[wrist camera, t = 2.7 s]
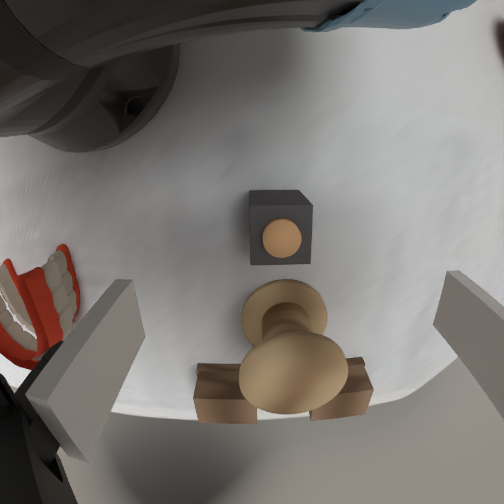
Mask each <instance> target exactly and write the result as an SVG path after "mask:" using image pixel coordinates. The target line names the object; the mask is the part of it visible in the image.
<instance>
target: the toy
mask: <svg viewBox="0 0 504 504" xmlns="http://www.w3.org/2000/svg"><path fill="white" fill-rule="evenodd" d="M0 291H1V294H2V296H3V297H4V299H5V301H6V302H8V306H9V308H10V310H11V311H12V313H13V314H15V315H16V316H17V319H18V320H19V321H20V322H21V323H22V324H25V325H26V327H27V328H28V329H29V330H31V331H32V332H33V333H36V336H37V339H35V337H34V336H32V335H31V334H30V333H28V332H27V331H23V329H22V327H21V326H20V325H19V324H18V323H17V322H14V321H13V317H12V315H11V313H10V312H9V310H6V305H5V303H4V301H3V299H2V297H1V295H0V353H1V354H2V355H3V356H4V357H6V358H7V359H8V360H9V361H11V362H12V363H14V364H15V365H17V366H19V367H22V368H25V369H29V370H32V369H33V368H35V365H36V364H37V363H38V362H39V360H41V358H42V356H43V355H44V354H45V353H46V351H47V350H48V349H49V348H50V347H52V346H53V345H55V344H56V343H57V342H59V341H65V340H66V338H67V337H68V336H69V335H70V334H69V333H70V332H71V331H72V328H73V321H74V319H75V317H76V313H77V312H78V309H79V287H78V282H77V279H76V275H75V271H74V267H73V264H72V261H71V257H70V253H69V250H68V248H67V246H66V245H65V244H61V245H59V246H58V247H57V250H56V252H55V253H54V254H53V255H51V256H50V257H49V258H48V262H47V263H46V264H45V265H43V266H42V267H37V268H35V269H33V270H31V271H29V272H27V273H24V274H21V275H18V276H17V274H16V272H15V269H14V267H13V264H12V262H11V260H10V259H6V260H5V261H4V262H3V265H2V266H1V267H0Z"/></svg>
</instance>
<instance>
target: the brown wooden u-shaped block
mask: <svg viewBox="0 0 504 504" xmlns="http://www.w3.org/2000/svg"><path fill="white" fill-rule="evenodd" d="M346 361H347V365H348V377H347V380H346V382H345V384H344V386H343V388H342V389H341V391H340V392H339V393H338V394H337V395H336V396H335V397H334V398H333V399H332V400H330V401H329V402H327V403H326V404H324V405H322V406H320V407H318V408H316V409H313V410H311V411H309V414H310V420H311V421H314V420H323V419H333V418H341V417H348V416H355V415H362V414H365V413H366V410H367V407H368V405H369V402H370V399H371V396H372V393H373V390H374V389H373V386H372V384H371V382H370V379H369V377H368V375H367V372H366V370H365V368H364V366H365V362H364V360H363V358H362V357H358V358H349V359H346ZM240 366H241V364H198V366H197V370H196V371H197V382H196V387H195V392H194V397H193V400H194V404H195V408H196V413H197V417H198V421H199V422H202V423H203V422H204V423H228V424H257V407H255V406H254V405H252V404H251V403H250V402H249V401H247V399H246V398H245V397H244V396H243V394H242V392H241V390H240V386H239V370H240Z"/></svg>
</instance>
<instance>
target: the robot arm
mask: <svg viewBox="0 0 504 504" xmlns="http://www.w3.org/2000/svg"><path fill="white" fill-rule="evenodd" d="M475 1H476V0H0V137H8V136H17V135H26V134H27V135H29V136H31V137H33V138H35V139H37V140H39V141H41V142H43V143H45V144H48V145H50V146H52V147H54V148H56V149H59V150H63V151H68V152H88V151H96V150H102V149H106V148H109V147H112V146H115V145H117V144H119V143H121V142H123V141H125V140H127V139H128V138H130V137H131V136H133V135H134V134H135V133H137V132H138V131H139V130H140V129H142V128H143V127H144V126H145V125H146V124H147V123H148V122H149V121H150V120H151V119H152V118H153V116H154V115H155V114H156V113H157V111H158V110H159V109H160V107H161V106H162V104H163V103H164V101H165V99H166V98H167V96H168V94H169V92H170V90H171V87H172V85H173V82H174V79H175V76H176V73H177V68H178V62H179V43H181V42H186V41H191V40H195V39H201V38H206V37H211V36H217V35H223V34H230V33H237V32H245V31H254V30H265V29H278V28H298V27H300V28H301V29H302V30H303V31H308V32H327V31H331V30H335V29H338V28H341V27H369V28H389V29H411V28H420V27H424V26H428V25H432V24H435V23H438V22H441V21H442V20H443V19H445V18H446V17H447V16H448V15H449V14H450V13H451V12H452V11H455V10H460V9H463V8H467V7H468V6H470V5H471V4H473V3H474V2H475ZM433 325H434V327H435V328H436V329H437V330H438V331H439V333H440V334H441V335H442V336H443V338H444V339H445V340H446V341H447V343H448V344H449V345H450V346H451V348H452V349H453V350H454V351H455V353H456V354H457V355H458V357H459V358H460V359H461V360H462V362H463V363H464V364H465V366H466V367H467V368H468V370H469V371H470V372H471V374H472V375H473V376H474V378H475V379H476V381H477V382H478V383H479V385H480V386H481V387H482V389H483V390H484V391H485V393H486V394H487V396H488V397H489V399H490V400H491V401H492V403H493V404H494V406H495V407H496V409H497V411H498V412H499V413H500V415H501V416H502V418H503V419H504V306H502V305H501V304H500V303H499V302H498V301H497V300H495V299H494V298H493V297H492V296H491V295H489V294H488V293H487V292H486V291H485V290H483V289H482V288H481V287H480V286H478V285H477V284H476V283H475V282H473V281H472V280H471V279H470V278H468V277H467V276H466V275H464V274H463V273H462V272H461V271H459V270H457V271H447V273H446V277H445V281H444V286H443V290H442V294H441V297H440V301H439V305H438V309H437V312H436V316H435V319H434V322H433ZM144 338H145V334H144V330H143V325H142V321H141V317H140V312H139V308H138V303H137V298H136V294H135V289H134V283H133V280H123V279H116V280H115V281H114V282H113V283H112V284H111V286H110V287H109V288H108V289H107V290H106V291H105V293H104V294H103V295H102V296H101V297H100V298H99V299H98V301H97V302H96V303H95V304H94V305H93V307H92V308H91V309H90V310H89V311H88V313H87V314H86V315H85V316H84V317H83V319H82V320H81V321H80V322H79V324H78V325H77V326H76V327H75V328H74V330H73V331H72V332H71V333H70V335H69V336H68V337H67V338H66V340H65V341H59V342H57V343H56V344H55V345H53V346H52V347H50V348H49V349H48V350H47V351H46V353H45V354H44V355H43V356H42V358H41V360H39V362H38V363H37V364H36V365H35V368H33V369H32V371H31V372H30V373H29V375H28V376H27V377H26V379H25V380H24V381H23V383H22V384H21V385H20V387H19V388H18V390H17V391H16V392H15V394H14V392H13V391H12V389H11V387H10V386H9V384H8V382H7V380H6V379H5V377H4V376H3V375H2V374H0V504H78V503H77V501H76V499H75V496H74V494H73V491H72V489H71V486H70V484H69V481H68V479H67V476H66V473H65V471H64V468H63V465H62V462H61V460H60V458H59V456H58V454H57V451H58V449H59V447H60V446H61V447H62V449H63V450H64V451H65V452H66V454H67V455H68V456H70V457H73V458H76V459H79V460H82V461H86V462H90V459H91V457H92V454H93V452H94V449H95V447H96V444H97V442H98V440H99V437H100V435H101V432H102V430H103V428H104V425H105V423H106V421H107V418H108V416H109V414H110V412H111V409H112V407H113V405H114V402H115V400H116V398H117V396H118V394H119V391H120V389H121V387H122V385H123V383H124V380H125V378H126V376H127V374H128V372H129V370H130V367H131V365H132V363H133V361H134V359H135V357H136V355H137V353H138V351H139V349H140V347H141V344H142V342H143V340H144Z"/></svg>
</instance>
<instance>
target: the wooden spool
mask: <svg viewBox="0 0 504 504" xmlns="http://www.w3.org/2000/svg"><path fill="white" fill-rule="evenodd" d="M326 323H327V311H326V307H325V305H324V302H323V300H322V298H321V296H320V295H319V293H318V292H317V291H316V290H315V289H314V288H312V287H311V286H309V285H308V284H306V283H303V282H300V281H297V280H288V279H285V280H277V281H273V282H270V283H267V284H265V285H263V286H261V287H260V288H258V289H257V290H256V291H254V292H253V293H252V294H251V295H250V297H249V298H248V299H247V301H246V303H245V305H244V308H243V313H242V328H243V331H244V334H245V336H246V338H247V339H248V341H249V342H250V343H251V344H252V345H253V346H254V347H253V348H252V349H251V350H250V351H249V352H248V353H247V354H246V356H245V357H244V359H243V361H242V363H241V366H240V370H239V386H240V390H241V392H242V394H243V396H244V397H245V398H246V399H247V401H249V402H250V403H251V404H252V405H254V406H255V407H257V408H259V409H261V410H264V411H267V412H271V413H276V414H298V413H303V412H307V411H311V410H313V409H316V408H318V407H320V406H322V405H324V404H326V403H327V402H329V401H330V400H332V399H333V398H334V397H335V396H336V395H337V394H338V393H339V392H340V391H341V389H342V388H343V386H344V384H345V382H346V380H347V377H348V365H347V361H346V358H345V356H344V353H343V351H342V350H341V348H340V347H339V346H338V345H337V344H336V343H335V342H334V341H333V340H331V339H330V338H328V337H326V336H323V335H322V334H323V332H324V330H325V327H326Z"/></svg>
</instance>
